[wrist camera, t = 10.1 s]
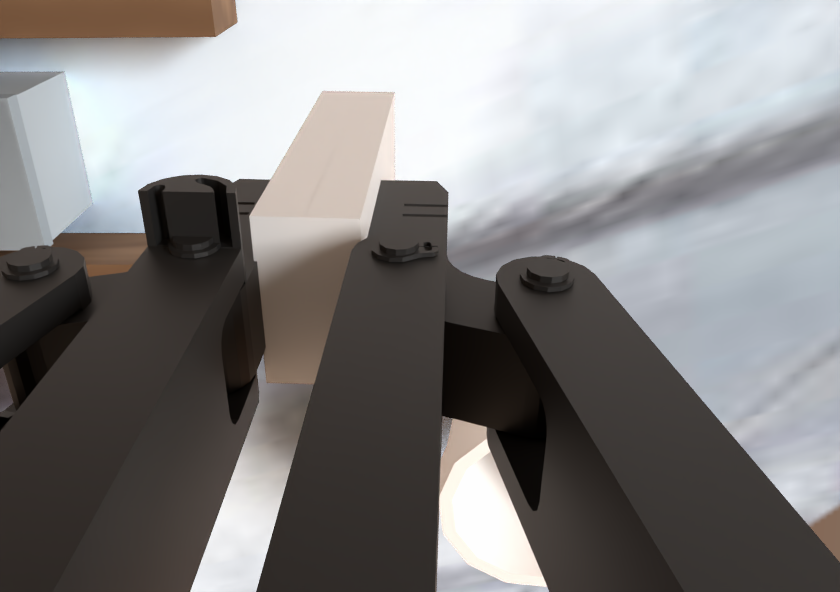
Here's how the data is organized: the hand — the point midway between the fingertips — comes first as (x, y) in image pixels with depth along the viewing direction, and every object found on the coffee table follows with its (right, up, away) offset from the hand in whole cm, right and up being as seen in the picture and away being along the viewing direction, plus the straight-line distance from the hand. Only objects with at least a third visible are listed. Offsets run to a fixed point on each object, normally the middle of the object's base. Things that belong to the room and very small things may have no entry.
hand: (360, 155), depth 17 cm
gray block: (-20, +5, +24) cm, 32 cm away
